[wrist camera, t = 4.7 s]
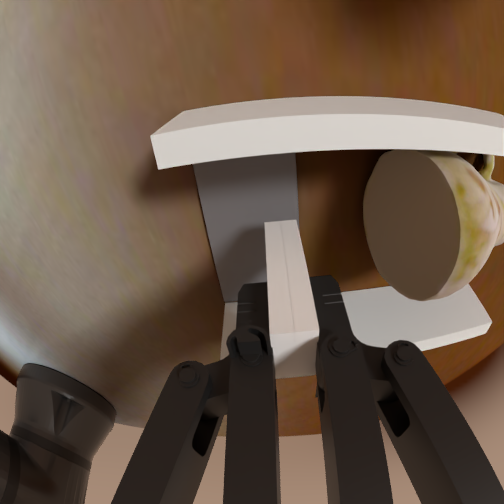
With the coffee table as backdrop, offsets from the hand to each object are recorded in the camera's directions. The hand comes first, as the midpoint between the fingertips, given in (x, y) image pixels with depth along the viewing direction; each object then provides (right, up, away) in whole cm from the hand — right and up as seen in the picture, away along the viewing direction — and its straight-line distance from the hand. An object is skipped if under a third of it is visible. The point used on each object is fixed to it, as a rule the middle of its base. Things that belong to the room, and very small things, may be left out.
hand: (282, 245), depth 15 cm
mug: (+9, +4, 0) cm, 10 cm away
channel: (+5, +2, +1) cm, 5 cm away
